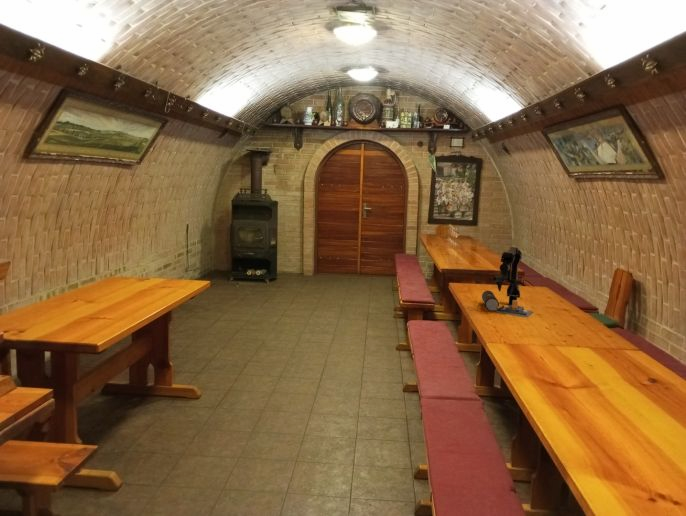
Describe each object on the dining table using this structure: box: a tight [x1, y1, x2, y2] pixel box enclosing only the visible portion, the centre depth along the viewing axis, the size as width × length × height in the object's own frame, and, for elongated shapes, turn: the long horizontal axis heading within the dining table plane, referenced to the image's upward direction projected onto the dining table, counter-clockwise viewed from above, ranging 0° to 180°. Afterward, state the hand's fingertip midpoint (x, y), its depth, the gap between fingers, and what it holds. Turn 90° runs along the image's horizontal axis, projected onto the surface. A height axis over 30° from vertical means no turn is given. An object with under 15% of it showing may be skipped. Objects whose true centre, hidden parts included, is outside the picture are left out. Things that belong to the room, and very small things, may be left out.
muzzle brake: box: [481, 290, 500, 312], centre depth 400 cm, size 10×28×10 cm, turn 171°
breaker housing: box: [505, 305, 527, 312], centre depth 388 cm, size 13×12×2 cm
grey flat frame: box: [496, 305, 527, 315], centre depth 389 cm, size 15×20×1 cm
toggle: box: [512, 300, 519, 309], centre depth 388 cm, size 3×3×7 cm
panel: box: [494, 306, 534, 318], centre depth 389 cm, size 16×22×1 cm
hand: (504, 292), depth 386 cm, fingers open, 9 cm apart
